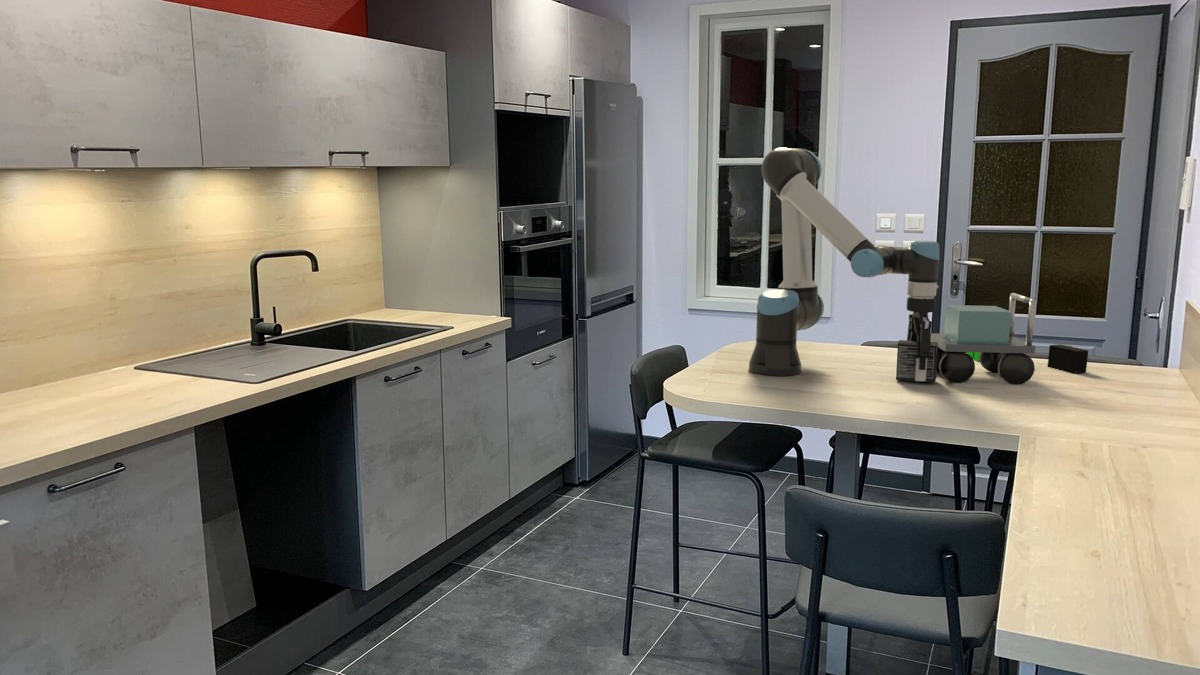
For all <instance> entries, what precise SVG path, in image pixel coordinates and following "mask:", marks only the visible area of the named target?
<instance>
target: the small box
mask: <svg viewBox="0 0 1200 675" xmlns="http://www.w3.org/2000/svg"><path fill="white" fill-rule="evenodd" d="M896 344H897V354H896V375H895V380H897V381H899V380H900V381H910V382H912V381H913V382H916V381H915V370H916V358H915V356H916V355H918V348H917V341H907V339H906V340H905V339H903V340H902V339H899V340H898V342H897V343H896ZM937 352H938V342H931V345H930V357H928V358H927V368H926V381H922V382H926V383H936V381H937V372H938V371H937ZM923 353H925V352H923Z"/></svg>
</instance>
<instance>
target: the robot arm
mask: <svg viewBox="0 0 1200 675" xmlns="http://www.w3.org/2000/svg"><path fill="white" fill-rule="evenodd" d="M761 175H762V178H763V180H764V182H765V184H766V185H767V186H768V187H769V188H770V189H771V190H772V191H773V192H774V194H776V195H775V196H776V197H777V198H778V199H779V200H780V203H781V233H782V234H781V236H782V238H781V240H782V243H781V244H782V276H783V277H782V278H783V279H782V281H781V283H780V284H779V285H778V289H774V290H772V289H769V290H766V291H763V292H761V293H760V294H759V295H758V298H757V304H756V329H755V330H756V333H755V346H754V349H753V351H752V353H751V357H750V358H749V362H748V363H749V364H748V370H749V371H750V372H752V373H754V374H759V375H765V376H778V377H779V376H780V377H781V376H783V377H784V376H794V375H798V374H800V373H802V361H801V359H800V354H799V351H798V348H797V347H798V346H797V338H798V336H797V334H798V332H799V331H801V330H802V331H803V330H808V329H810V328H811V327H814V326H815V325H816V324H818V322H820V320H821V319H822V318H823V314H824V312H825V311H824V310H825V305H824V300H823V299H822V297H821V296H820V295H819V292H818V290H819V288H818V287H819V286H818V284H817V283H816V282H815V281H814V280H813V251H812V249H813V246H812V244H813V242H812V226H813V227H814V228H816V230H817V231H819V233H820V234H821V235H822V236H823V237H824V238H826V239H827V241H829V242H830V243H831V245H833V247H835V249H837V250H838V252H840V254H842V255H843V256H844V257H845V258H846V260H848V261H849V262H850V267H851V270H852V272H853V273H854V274H855V275H856V276H858V277H861V278H874V277H877V276H882V275H887V274H894V275H895V274H897V275H899V274H900V275H908V281H907V292H906V293H907V294H906V295H908V297H906V311H909V312H912V313H910V314H908V325H907V336H906V340H907V341H917V348H918V355H916V356H915V358H916V370H915V381H914V382H923V381H926V368H927V358H928V357H930V345H931V334H932V331H931V330H932V325H933V321H931V320H930V318H929V313H934V312H935V311H936V302H937V301H936V300H937V299H936V298H935V297H936V296H937V289H939V287H940V285H938V276H939V275H938V274H939V265H940V245H939V244H940V243H939V242H937V241H934V240H912V241H911V243H910V245H909V246H908V247H906V246H905V247H904V246H903V247H901V246H888V245H874V244H873V243H872V242H871V241H870V240H869V239H868V238H867V237H866V236H865V235H864V234H863V233H862V232H861V231H860V230H859V229H858V228H857V227H856V226H855V225H854V224H853V223H852V222H851V221H850V220H849V219H848V218H847V217H846V216H845V215H844V214H843V213H842V212H840V211H839V210H838V209H837V207H835V206H834V204H832V203H831V202H830V201H829V200H828V198H827V197H825V196H824V195H823V194H822V192H820V191H819V190H818V189H817V183H818V182H819V181H820V178H821V176H822V165H821V161H820V159H819V157H818V156H817V155H816V154H815V153H813V152H812V151H810V150H807V149H805V148H792V147H790V148H788V147H777V148H775V149H773V150H771V151H769V152H768V153H767V155H766V156H764V159H763V160H762V164H761ZM923 352H925V353H923Z"/></svg>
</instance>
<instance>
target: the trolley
mask: <svg viewBox="0 0 1200 675" xmlns="http://www.w3.org/2000/svg"><path fill="white" fill-rule="evenodd" d="M1017 301H1020V302H1022V303H1025V304H1028V305H1029V306H1028V315H1027V326H1026V336H1025V340H1022V339H1020V338H1018V337H1015V336H1014V337H1013V332H1014V322H1015V314H1016V313H1015V312H1016V302H1017ZM1036 304H1037V301H1036V299H1034V298H1031V297H1028V296H1024V295H1022V294H1018V293H1015V292H1012V293H1010V294H1009V305H1008V310H1007V309H1005V308H1002V307H999V306H997V305H969V304H968V305H965V304H964V305H962V304H961V305H960V304H959V305H958V304H955V305H954V304H946V306H945V317H944V318H945V319H944V331H943V333H931V342H938V352H937V371H936V372H938V373H939V372H940V374H941V376H942V377H943V378H945V380H947V381H948V382H949V383H953V384H962V383H966V382H967V381H968V380H970V379H971V378H972V377H973V375H974V373H975V371H976V363H975V360H973V358H972V357H971V356H970V355H969V354H967V353H968V352H980V355H979V360H980V363H979V364H980V365H981V367H982V368H983V369H985V370H987V371H988V372H989V373H992V374H998V376H1000V378H1001V379H1002V380H1003V381H1005V382H1007V383H1008V384H1011V385H1013V386H1014V385H1016V386H1019V385H1023V384H1025V383H1028V382H1029V380H1031V378H1032V377H1033V376H1034V373H1035V369H1036V368H1035V367H1036V366H1035V362H1034V360H1033V359H1032V358H1031V357H1030V356H1029V355H1028V354H1035V353H1036V346H1035V345H1033V339H1034V338H1033V336H1034V328H1035V316H1036Z"/></svg>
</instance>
